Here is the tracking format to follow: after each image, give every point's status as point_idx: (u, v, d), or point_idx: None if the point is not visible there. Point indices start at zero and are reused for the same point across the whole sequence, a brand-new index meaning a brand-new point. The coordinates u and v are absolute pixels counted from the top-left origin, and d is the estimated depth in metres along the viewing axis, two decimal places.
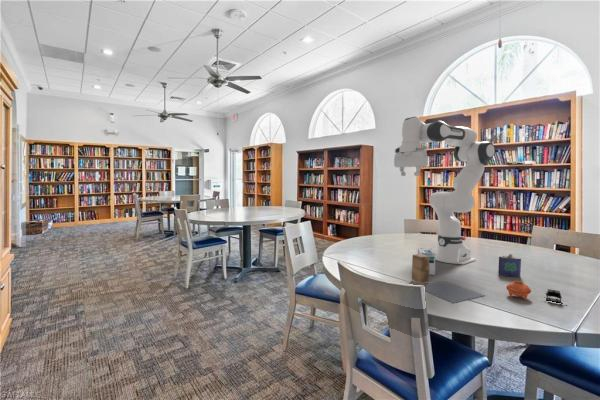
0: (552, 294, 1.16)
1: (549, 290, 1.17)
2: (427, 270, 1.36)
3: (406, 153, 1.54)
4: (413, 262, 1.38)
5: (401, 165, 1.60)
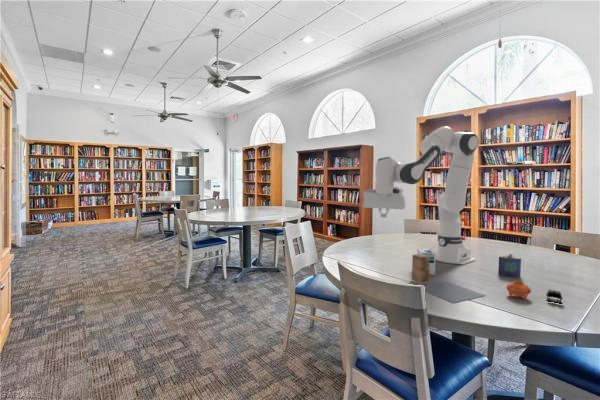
0: (553, 295, 1.15)
1: (549, 291, 1.16)
2: (427, 270, 1.36)
3: None
4: (413, 262, 1.38)
5: None
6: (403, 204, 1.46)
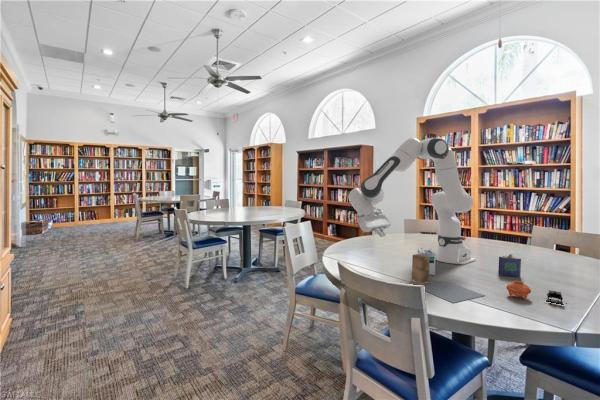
0: (553, 295, 1.15)
1: (550, 291, 1.15)
2: (427, 270, 1.36)
3: None
4: (413, 262, 1.38)
5: None
6: None
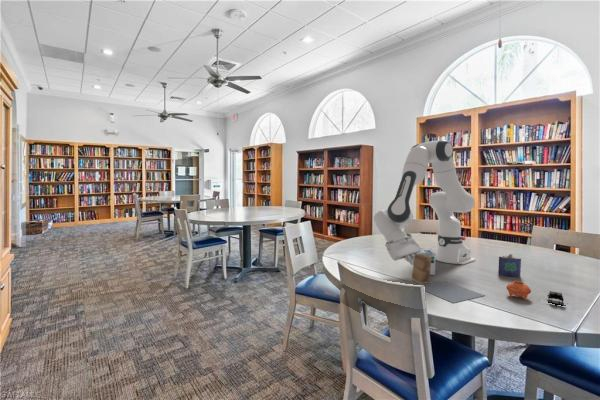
0: (554, 296, 1.14)
1: (551, 292, 1.14)
2: (428, 270, 1.35)
3: None
4: (414, 262, 1.37)
5: None
6: (418, 246, 1.47)
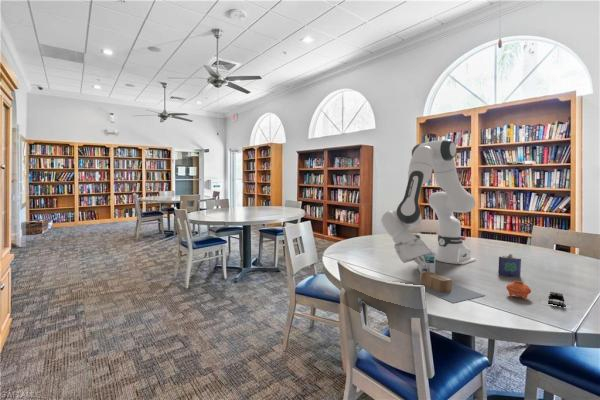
0: (555, 297, 1.13)
1: (552, 293, 1.14)
2: None
3: None
4: (436, 279, 1.26)
5: None
6: (428, 248, 1.44)
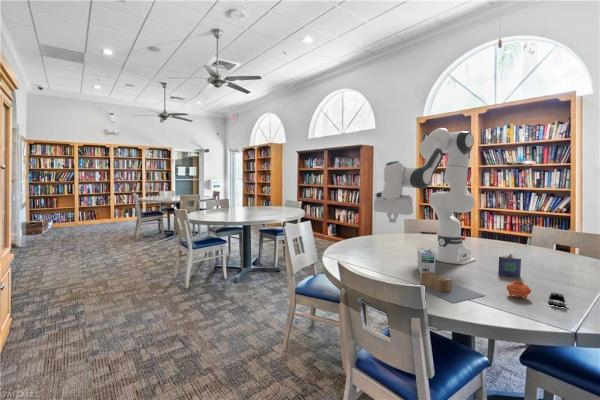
0: (555, 298, 1.13)
1: (552, 293, 1.13)
2: None
3: (389, 199, 1.47)
4: (436, 279, 1.26)
5: (383, 210, 1.52)
6: None
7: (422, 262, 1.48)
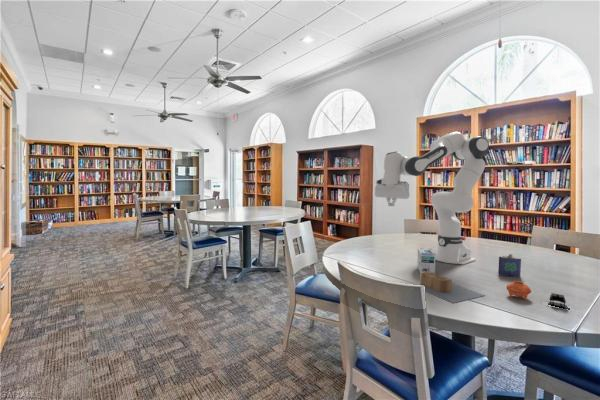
0: (556, 298, 1.12)
1: (553, 294, 1.13)
2: None
3: (389, 185, 1.65)
4: (436, 279, 1.26)
5: (383, 196, 1.70)
6: None
7: (422, 262, 1.48)
